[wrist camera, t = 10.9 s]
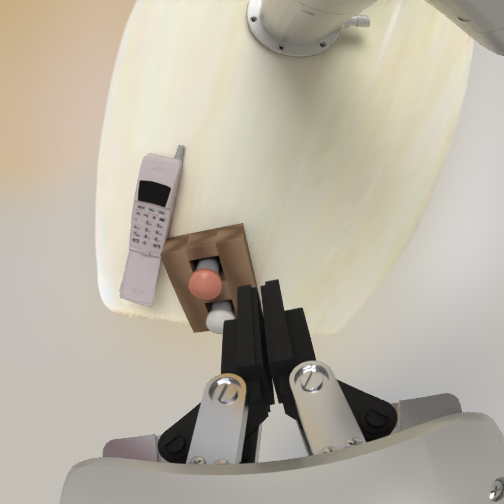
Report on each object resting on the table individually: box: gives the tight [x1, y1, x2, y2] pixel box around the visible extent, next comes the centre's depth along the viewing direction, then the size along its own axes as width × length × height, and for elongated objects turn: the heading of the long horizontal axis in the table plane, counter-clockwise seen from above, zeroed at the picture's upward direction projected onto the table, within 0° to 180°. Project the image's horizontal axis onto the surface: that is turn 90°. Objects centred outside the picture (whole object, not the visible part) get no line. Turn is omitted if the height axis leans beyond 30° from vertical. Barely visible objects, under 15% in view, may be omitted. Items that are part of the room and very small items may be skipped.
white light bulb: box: [206, 299, 235, 334], centre depth 44 cm, size 4×4×7 cm
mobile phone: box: [120, 145, 184, 306], centre depth 38 cm, size 6×6×25 cm
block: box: [160, 223, 261, 332], centre depth 43 cm, size 12×16×5 cm
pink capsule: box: [189, 255, 222, 300], centre depth 39 cm, size 4×4×7 cm
